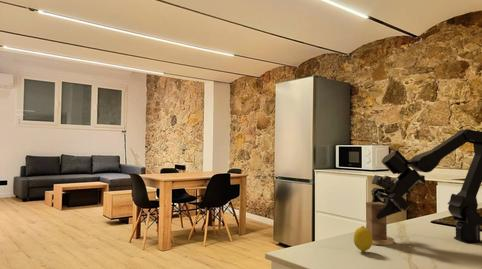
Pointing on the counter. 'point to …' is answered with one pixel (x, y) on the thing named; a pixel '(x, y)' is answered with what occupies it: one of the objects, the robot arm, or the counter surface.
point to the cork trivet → (383, 242)
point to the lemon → (363, 239)
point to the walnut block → (375, 221)
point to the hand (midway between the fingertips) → (372, 215)
